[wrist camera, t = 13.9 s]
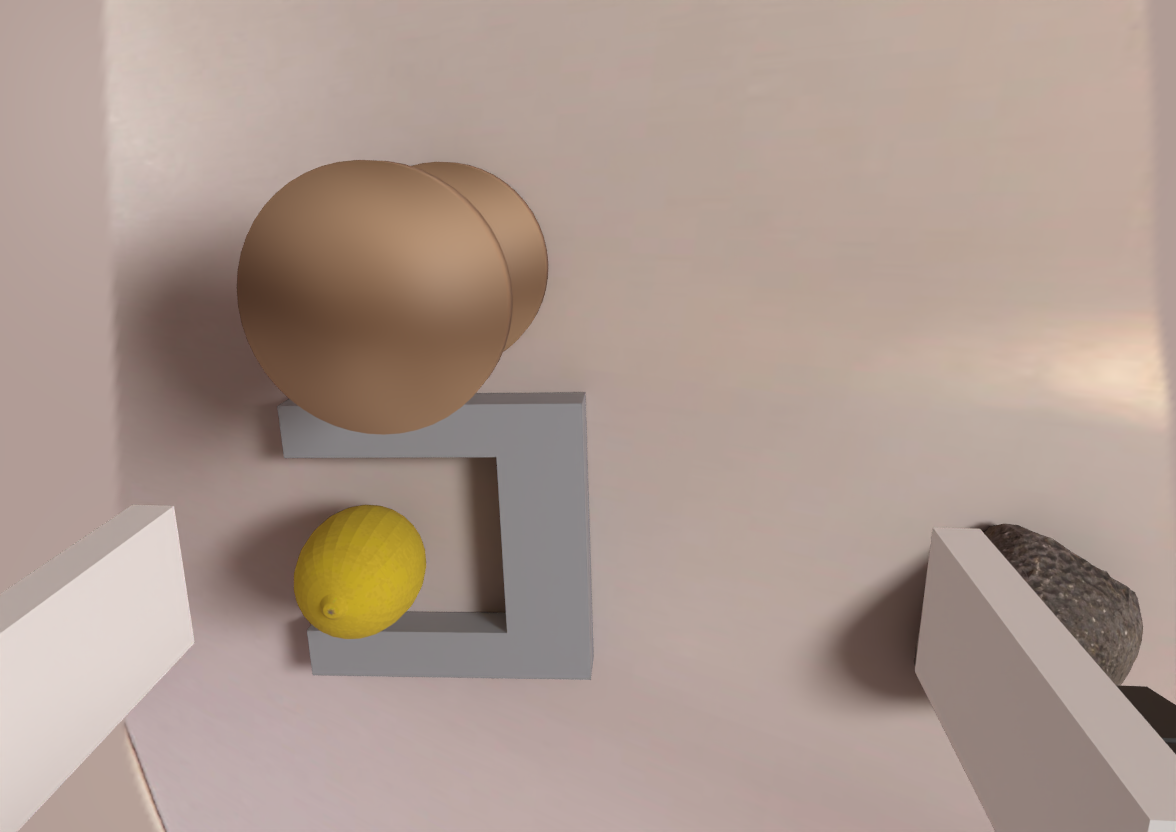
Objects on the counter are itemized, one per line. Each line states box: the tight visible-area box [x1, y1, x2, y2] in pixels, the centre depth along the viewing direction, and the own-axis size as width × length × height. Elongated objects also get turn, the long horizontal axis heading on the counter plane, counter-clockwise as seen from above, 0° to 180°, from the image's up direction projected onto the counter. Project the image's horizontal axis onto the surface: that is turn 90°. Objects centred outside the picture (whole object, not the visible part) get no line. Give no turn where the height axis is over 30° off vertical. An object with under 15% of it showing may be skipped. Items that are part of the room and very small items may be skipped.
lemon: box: [294, 505, 426, 639], centre depth 39 cm, size 6×6×8 cm
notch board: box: [277, 392, 594, 680], centre depth 42 cm, size 14×14×2 cm
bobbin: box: [237, 160, 548, 435], centre depth 34 cm, size 9×9×11 cm
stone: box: [914, 524, 1143, 686], centre depth 40 cm, size 10×8×10 cm
